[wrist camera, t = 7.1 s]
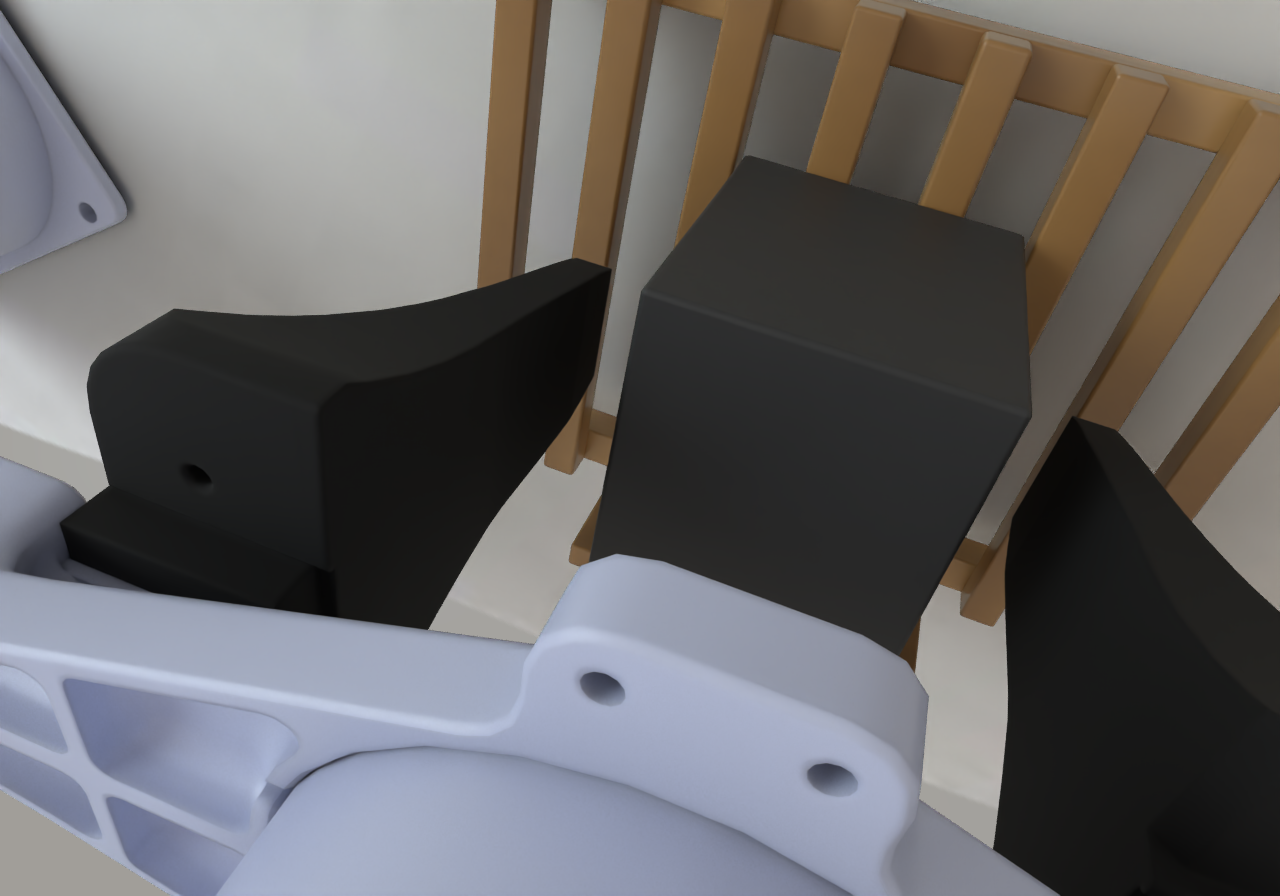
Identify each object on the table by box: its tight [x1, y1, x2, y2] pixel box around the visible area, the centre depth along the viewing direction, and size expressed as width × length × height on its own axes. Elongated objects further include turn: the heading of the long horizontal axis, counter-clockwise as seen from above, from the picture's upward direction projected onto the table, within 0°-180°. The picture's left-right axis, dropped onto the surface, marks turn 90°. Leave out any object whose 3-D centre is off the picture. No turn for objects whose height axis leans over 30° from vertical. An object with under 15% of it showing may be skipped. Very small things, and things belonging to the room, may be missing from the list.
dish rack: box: [477, 0, 1280, 674], centre depth 15 cm, size 15×10×6 cm
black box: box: [588, 156, 1032, 656], centre depth 13 cm, size 4×5×5 cm
